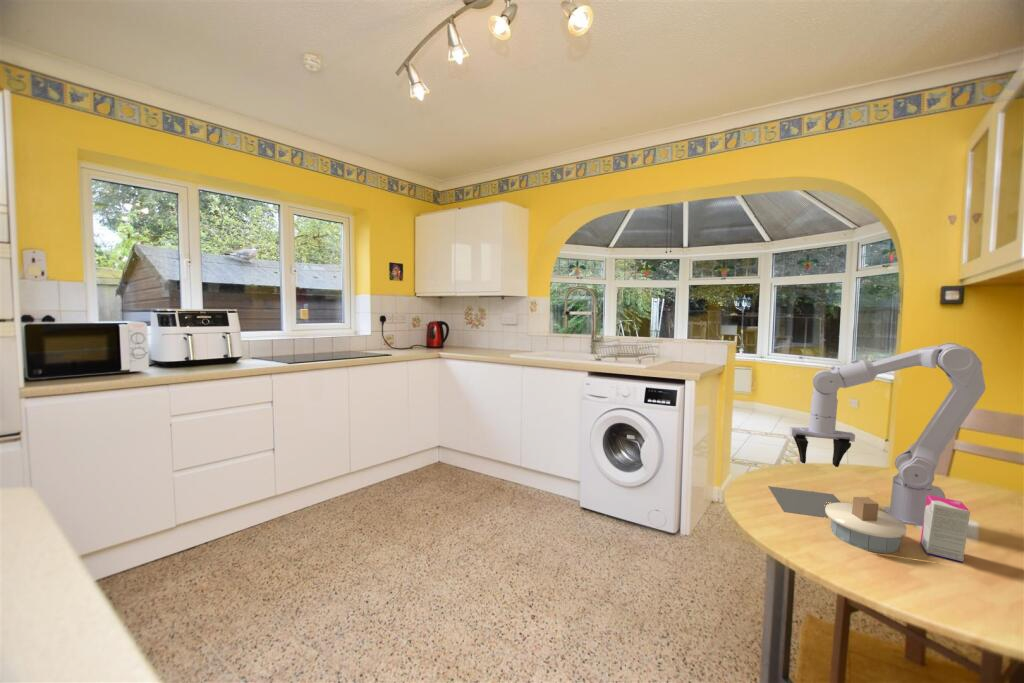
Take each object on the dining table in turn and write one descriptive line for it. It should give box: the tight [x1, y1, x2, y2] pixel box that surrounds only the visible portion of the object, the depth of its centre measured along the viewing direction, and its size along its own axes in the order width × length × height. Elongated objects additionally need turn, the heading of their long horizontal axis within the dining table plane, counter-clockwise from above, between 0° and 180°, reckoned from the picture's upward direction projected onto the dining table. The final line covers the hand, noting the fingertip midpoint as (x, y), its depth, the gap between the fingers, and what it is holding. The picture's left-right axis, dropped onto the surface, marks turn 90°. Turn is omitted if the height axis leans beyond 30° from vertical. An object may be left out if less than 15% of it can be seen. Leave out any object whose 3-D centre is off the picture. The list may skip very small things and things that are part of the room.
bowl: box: [830, 519, 902, 555], centre depth 100 cm, size 12×12×4 cm
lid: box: [825, 496, 908, 538], centre depth 100 cm, size 14×14×5 cm
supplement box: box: [919, 495, 971, 564], centre depth 95 cm, size 6×6×12 cm
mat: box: [768, 485, 842, 519], centre depth 117 cm, size 16×16×1 cm
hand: (818, 463), depth 120 cm, fingers open, 7 cm apart
